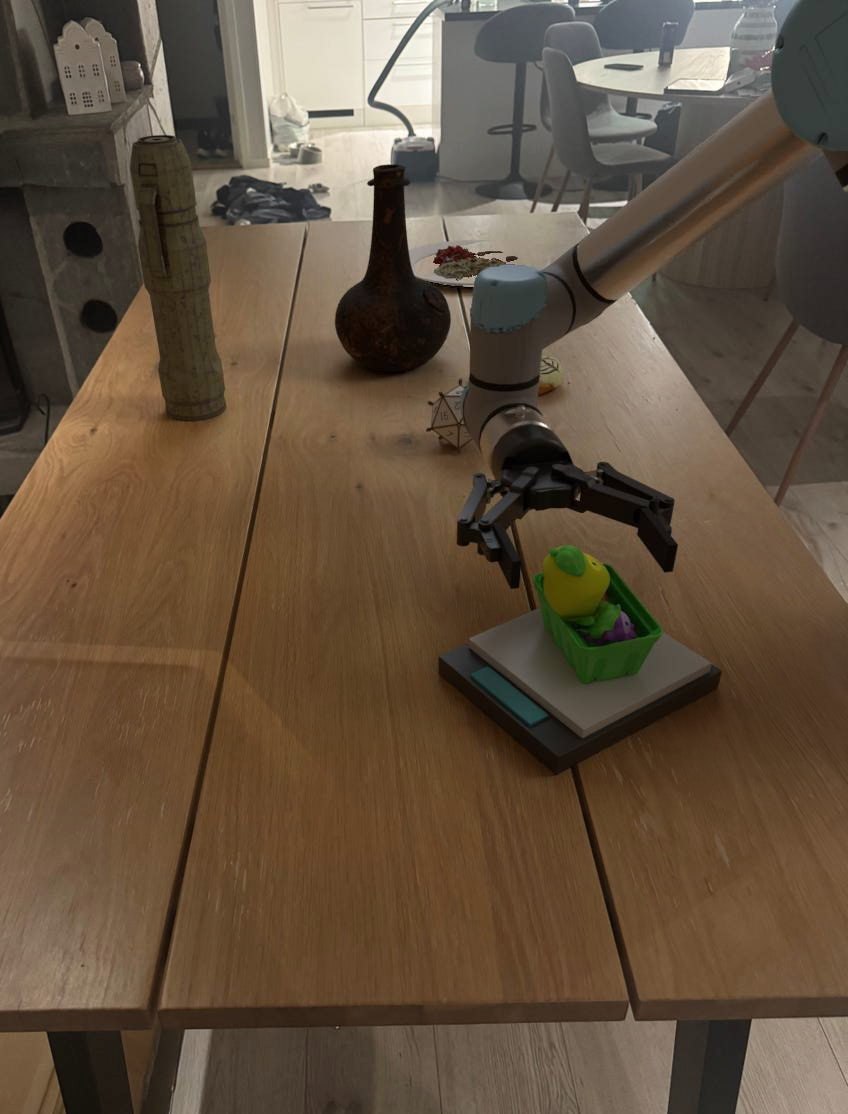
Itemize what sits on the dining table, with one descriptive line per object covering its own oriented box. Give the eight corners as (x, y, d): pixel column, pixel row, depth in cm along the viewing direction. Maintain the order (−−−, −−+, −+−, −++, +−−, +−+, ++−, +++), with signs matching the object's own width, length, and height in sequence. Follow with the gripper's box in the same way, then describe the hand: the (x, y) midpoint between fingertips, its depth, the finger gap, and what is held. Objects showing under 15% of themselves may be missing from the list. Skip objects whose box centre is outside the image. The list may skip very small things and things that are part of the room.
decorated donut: (572, 395, 138) (575, 370, 135) (501, 403, 136) (502, 377, 134) (548, 369, 146) (550, 345, 144) (480, 376, 144) (481, 351, 142)
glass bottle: (418, 391, 141) (418, 184, 124) (315, 371, 148) (302, 174, 131) (468, 351, 153) (475, 158, 136) (371, 335, 160) (366, 150, 144)
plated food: (507, 302, 172) (508, 283, 170) (367, 280, 185) (367, 262, 183) (574, 260, 192) (576, 243, 190) (444, 242, 205) (444, 226, 203)
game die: (451, 464, 130) (454, 390, 130) (505, 457, 124) (507, 380, 124) (410, 452, 123) (413, 375, 123) (464, 445, 117) (467, 363, 117)
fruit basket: (659, 681, 81) (681, 569, 74) (561, 699, 80) (574, 586, 73) (602, 607, 90) (617, 501, 83) (513, 622, 89) (521, 515, 82)
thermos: (154, 425, 134) (105, 148, 113) (177, 392, 143) (136, 130, 122) (216, 426, 133) (178, 147, 112) (235, 393, 142) (203, 129, 121)
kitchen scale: (718, 688, 85) (724, 661, 83) (556, 775, 77) (559, 747, 75) (591, 604, 96) (594, 579, 94) (438, 673, 88) (438, 647, 86)
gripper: (405, 433, 94) (450, 543, 78) (648, 411, 97) (743, 513, 80) (405, 501, 99) (448, 618, 82) (637, 478, 101) (726, 588, 84)
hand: (594, 567), depth 81 cm, fingers open, 13 cm apart
